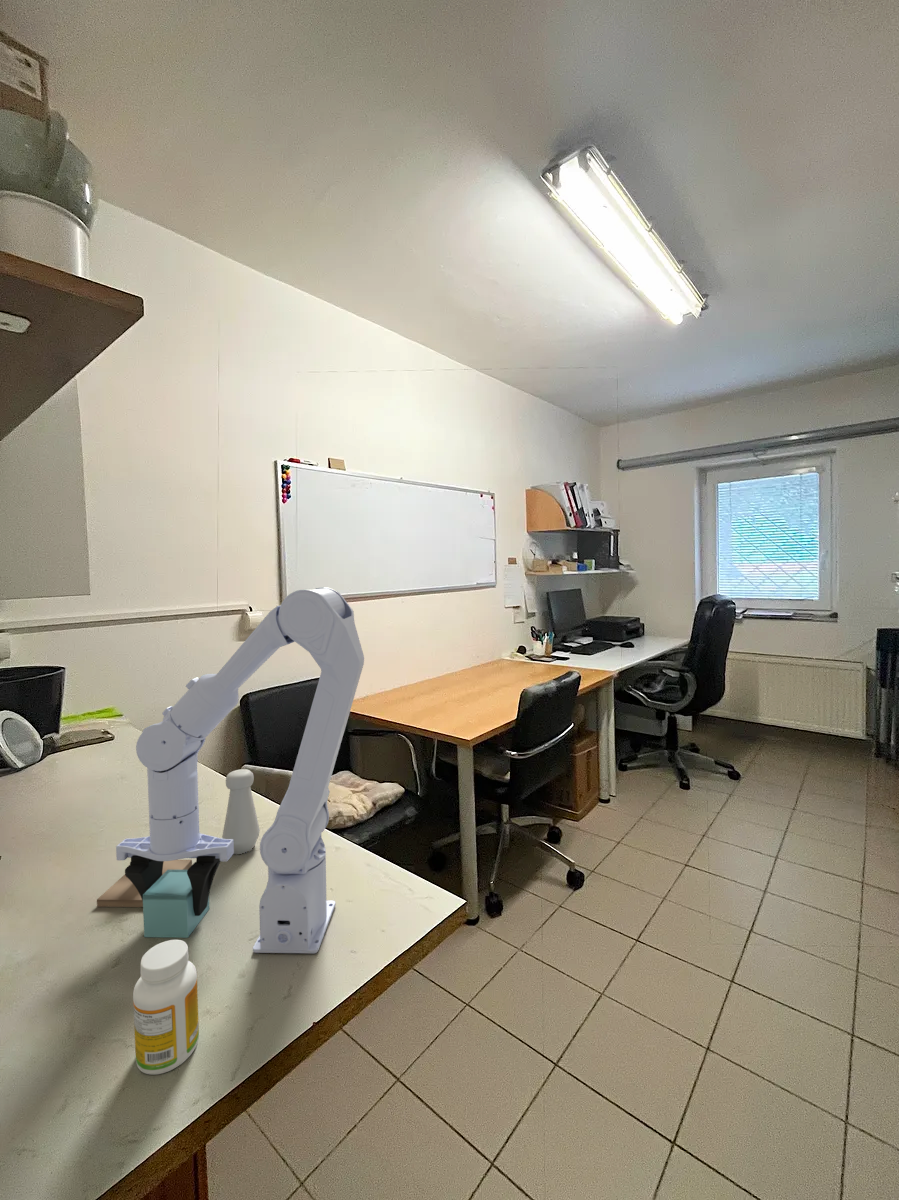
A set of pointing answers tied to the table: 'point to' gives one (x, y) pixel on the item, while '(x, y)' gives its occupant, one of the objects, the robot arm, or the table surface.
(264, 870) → the table surface
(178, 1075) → the table surface
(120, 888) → the post base
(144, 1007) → the supplement bottle
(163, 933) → the teal lidded box
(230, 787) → the salt shaker
